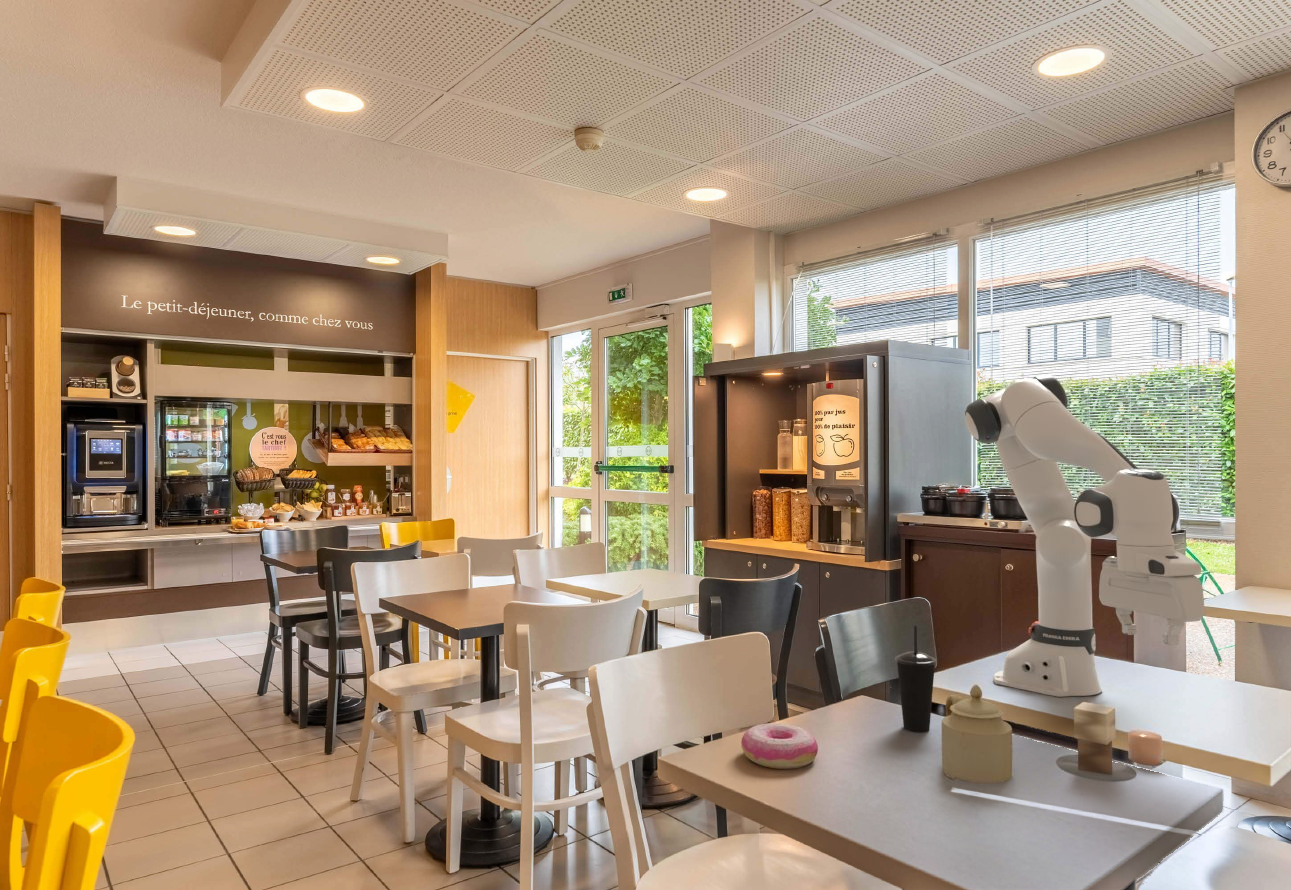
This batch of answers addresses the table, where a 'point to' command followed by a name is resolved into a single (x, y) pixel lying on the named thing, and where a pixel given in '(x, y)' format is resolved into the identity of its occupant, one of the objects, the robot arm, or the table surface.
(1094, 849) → the table surface
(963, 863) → the table surface
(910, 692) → the drinking cup
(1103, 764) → the walnut cube
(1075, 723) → the beech cube
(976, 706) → the sugar bowl
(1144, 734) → the terracotta cylinder
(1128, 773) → the slate coaster
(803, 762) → the donut
